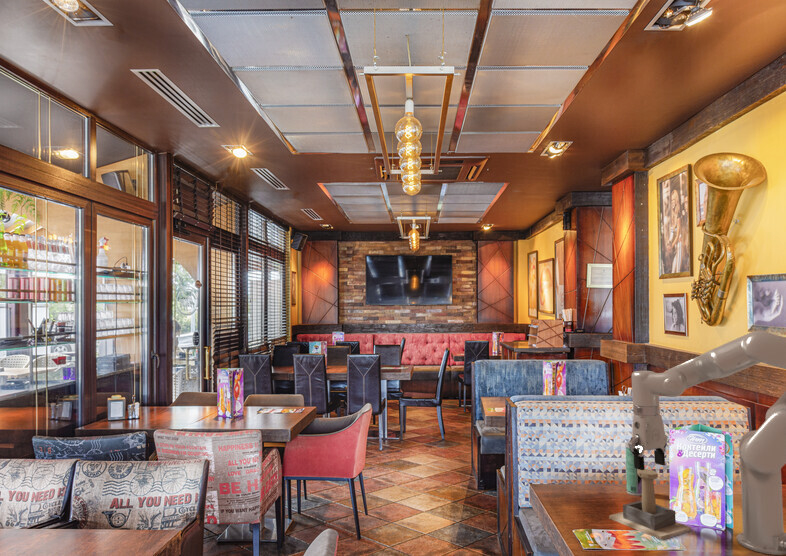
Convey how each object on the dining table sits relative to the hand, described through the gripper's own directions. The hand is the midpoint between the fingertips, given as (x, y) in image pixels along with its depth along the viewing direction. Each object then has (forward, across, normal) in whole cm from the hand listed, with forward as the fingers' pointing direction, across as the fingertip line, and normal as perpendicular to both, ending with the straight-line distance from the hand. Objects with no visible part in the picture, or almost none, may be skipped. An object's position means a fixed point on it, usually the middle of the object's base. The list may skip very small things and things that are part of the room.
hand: (649, 466), depth 166 cm
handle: (+17, 0, +1) cm, 17 cm away
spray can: (+18, +20, +22) cm, 35 cm away
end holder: (+18, -1, +1) cm, 18 cm away
